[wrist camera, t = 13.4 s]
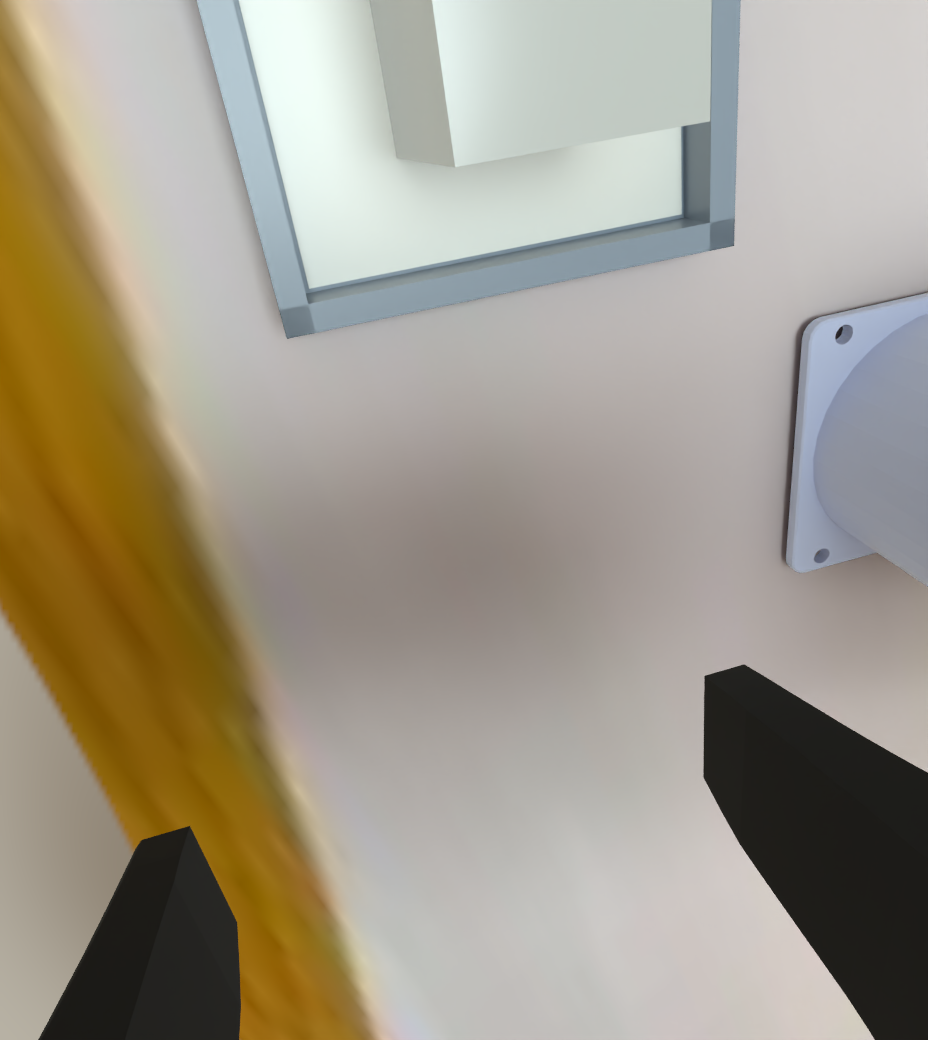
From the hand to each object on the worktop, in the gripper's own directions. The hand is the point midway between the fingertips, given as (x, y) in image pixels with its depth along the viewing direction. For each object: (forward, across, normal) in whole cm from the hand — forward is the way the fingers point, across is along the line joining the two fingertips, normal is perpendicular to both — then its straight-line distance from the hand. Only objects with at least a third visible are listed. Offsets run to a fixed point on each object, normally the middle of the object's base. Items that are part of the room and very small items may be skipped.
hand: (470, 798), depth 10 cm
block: (+10, -4, -10) cm, 14 cm away
